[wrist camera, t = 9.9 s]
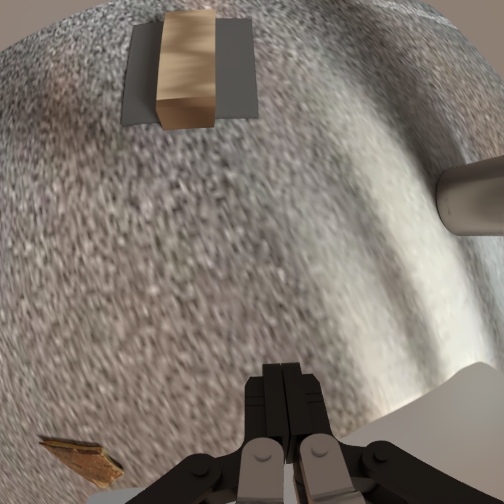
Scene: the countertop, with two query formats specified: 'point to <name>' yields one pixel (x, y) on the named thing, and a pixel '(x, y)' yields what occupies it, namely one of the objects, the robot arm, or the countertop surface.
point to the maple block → (187, 70)
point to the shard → (86, 462)
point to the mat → (226, 72)
